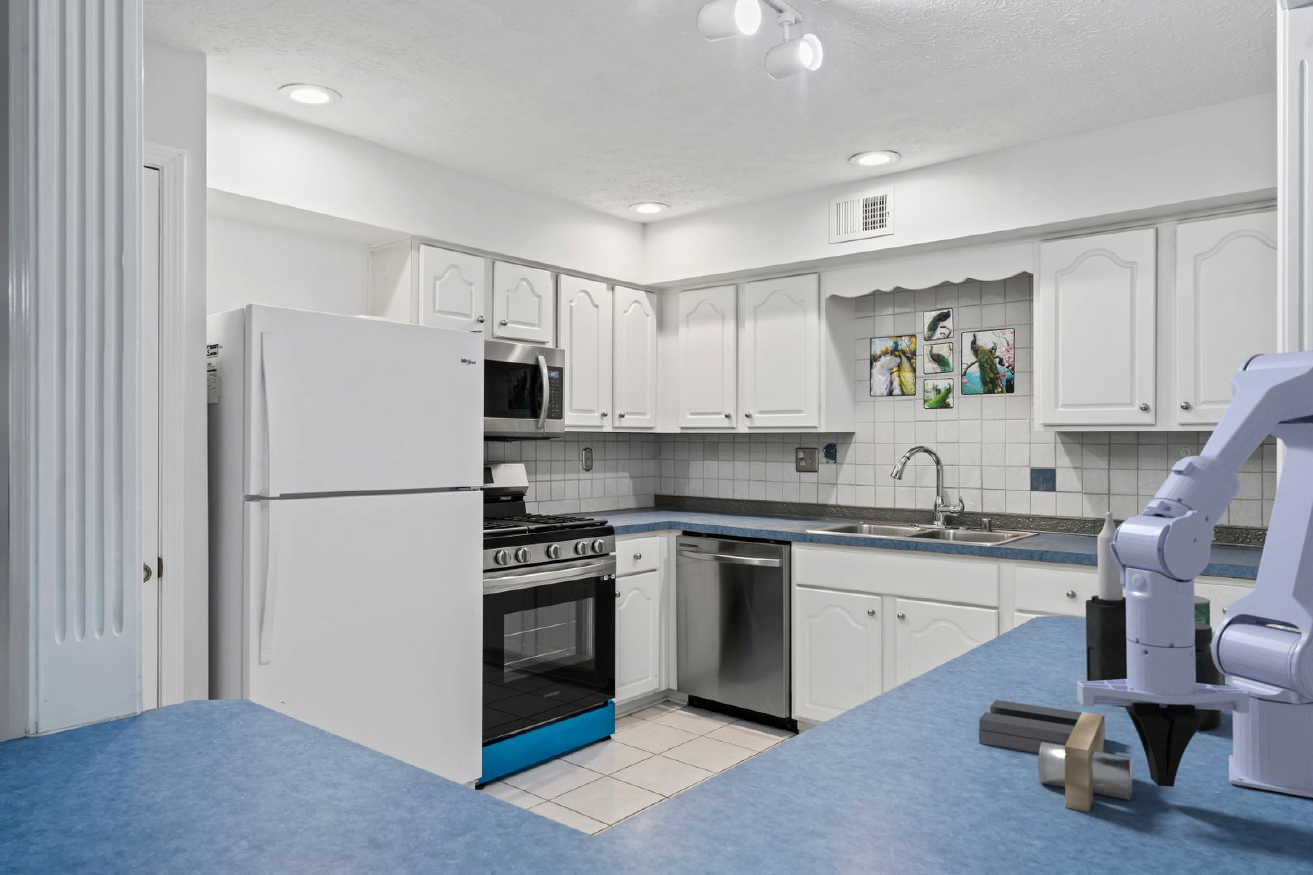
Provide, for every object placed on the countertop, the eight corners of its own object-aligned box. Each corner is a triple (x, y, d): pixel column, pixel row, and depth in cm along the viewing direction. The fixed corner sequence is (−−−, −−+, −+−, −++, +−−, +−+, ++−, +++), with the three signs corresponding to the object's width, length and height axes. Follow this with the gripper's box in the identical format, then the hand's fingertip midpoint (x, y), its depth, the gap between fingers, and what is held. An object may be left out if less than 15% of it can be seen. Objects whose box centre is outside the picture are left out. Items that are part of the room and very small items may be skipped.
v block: (1105, 738, 100) (1104, 715, 100) (1095, 763, 93) (1094, 738, 93) (996, 721, 107) (996, 699, 107) (979, 743, 100) (978, 719, 100)
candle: (1141, 703, 113) (1138, 513, 113) (1102, 704, 113) (1099, 513, 113) (1121, 692, 118) (1118, 509, 118) (1083, 692, 118) (1081, 510, 118)
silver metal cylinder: (1132, 787, 86) (1131, 749, 86) (1129, 807, 83) (1128, 767, 82) (1045, 772, 91) (1044, 735, 90) (1039, 790, 87) (1037, 752, 87)
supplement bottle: (1158, 726, 104) (1156, 627, 104) (1155, 710, 110) (1154, 616, 110) (1226, 735, 101) (1224, 632, 101) (1219, 718, 107) (1218, 621, 107)
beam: (1103, 769, 91) (1103, 714, 91) (1088, 811, 81) (1087, 750, 81) (1082, 766, 92) (1082, 711, 92) (1065, 807, 82) (1064, 746, 82)
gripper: (1225, 633, 85) (1227, 770, 85) (1067, 629, 88) (1069, 762, 88) (1260, 651, 79) (1262, 800, 79) (1088, 645, 81) (1090, 789, 81)
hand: (1162, 782), depth 83 cm, fingers closed
